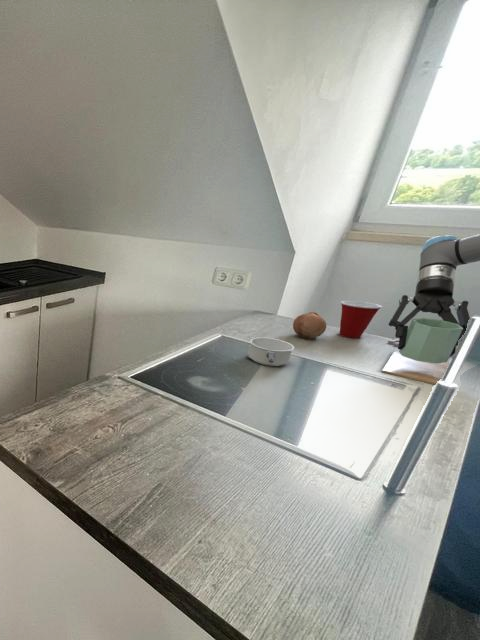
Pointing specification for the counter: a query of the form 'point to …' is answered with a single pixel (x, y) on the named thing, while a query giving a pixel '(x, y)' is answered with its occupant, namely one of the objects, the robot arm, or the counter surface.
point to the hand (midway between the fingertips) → (425, 350)
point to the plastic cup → (356, 317)
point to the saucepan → (270, 351)
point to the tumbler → (430, 340)
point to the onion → (309, 325)
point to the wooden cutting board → (415, 369)
